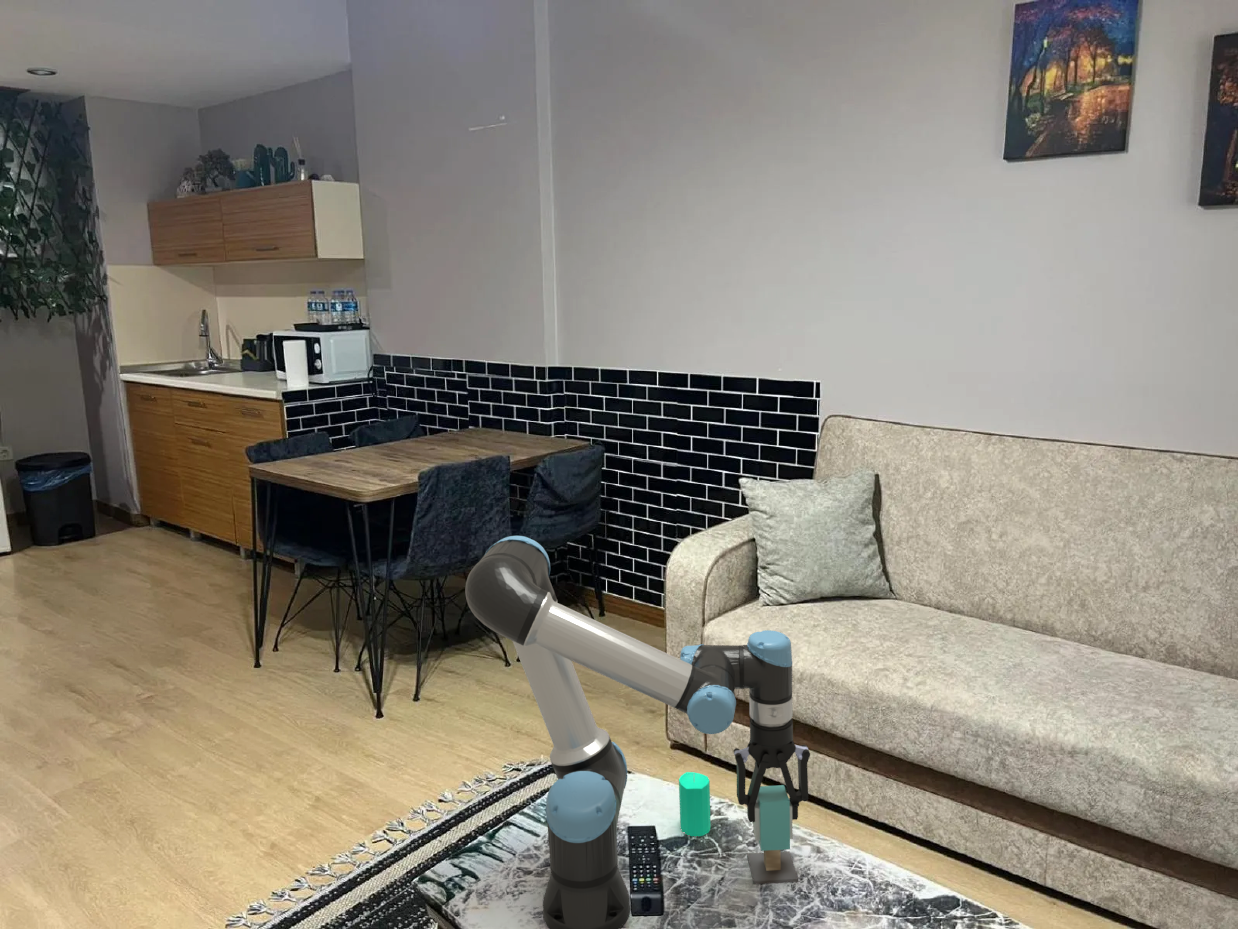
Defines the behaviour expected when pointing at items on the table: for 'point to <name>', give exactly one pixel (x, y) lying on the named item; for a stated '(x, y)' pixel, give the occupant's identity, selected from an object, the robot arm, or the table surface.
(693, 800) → the candle
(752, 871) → the gray square base stand
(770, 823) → the turquoise rectangular block
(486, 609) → the robot arm
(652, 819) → the table surface
